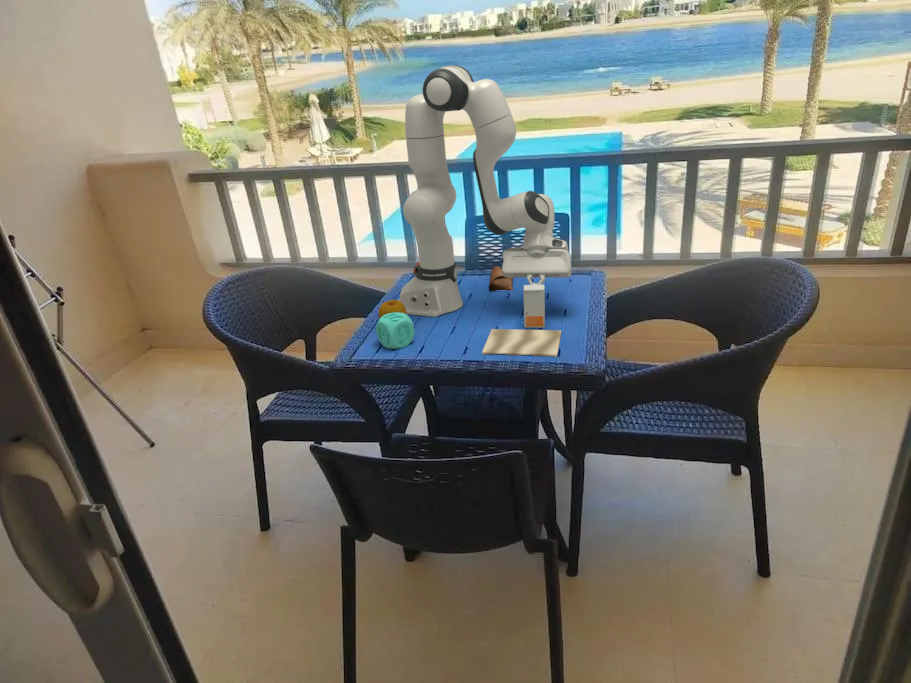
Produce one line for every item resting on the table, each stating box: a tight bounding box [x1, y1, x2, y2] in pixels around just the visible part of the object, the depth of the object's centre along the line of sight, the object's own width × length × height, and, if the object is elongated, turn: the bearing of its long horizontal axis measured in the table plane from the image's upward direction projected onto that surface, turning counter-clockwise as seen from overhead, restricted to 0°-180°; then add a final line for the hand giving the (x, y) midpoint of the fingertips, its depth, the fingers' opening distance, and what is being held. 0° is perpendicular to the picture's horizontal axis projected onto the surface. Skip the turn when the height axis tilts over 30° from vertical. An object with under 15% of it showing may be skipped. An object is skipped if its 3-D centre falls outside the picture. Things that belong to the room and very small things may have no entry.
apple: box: [377, 299, 407, 320], centre depth 184 cm, size 8×8×9 cm
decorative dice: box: [375, 312, 416, 350], centre depth 174 cm, size 8×8×8 cm
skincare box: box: [523, 284, 546, 329], centre depth 176 cm, size 6×4×12 cm
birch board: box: [481, 328, 562, 358], centre depth 169 cm, size 20×15×1 cm
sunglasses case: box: [488, 265, 514, 292], centre depth 214 cm, size 18×7×7 cm, turn 175°
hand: (535, 290), depth 177 cm, fingers closed
